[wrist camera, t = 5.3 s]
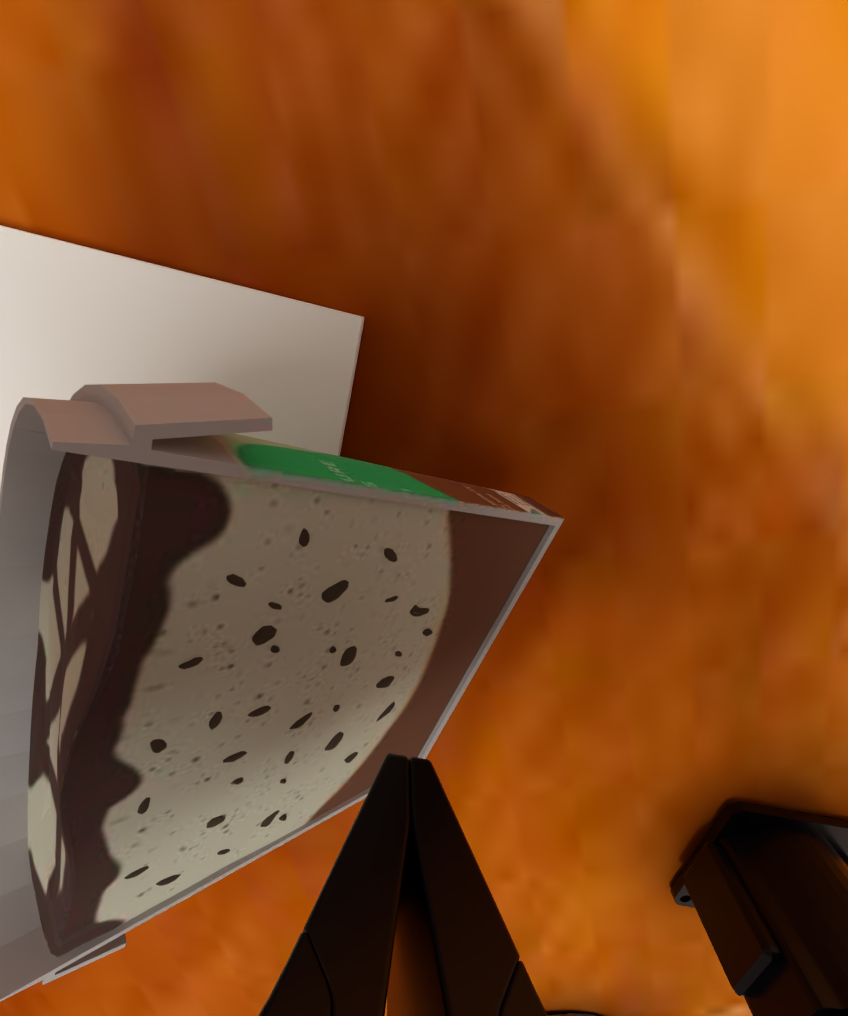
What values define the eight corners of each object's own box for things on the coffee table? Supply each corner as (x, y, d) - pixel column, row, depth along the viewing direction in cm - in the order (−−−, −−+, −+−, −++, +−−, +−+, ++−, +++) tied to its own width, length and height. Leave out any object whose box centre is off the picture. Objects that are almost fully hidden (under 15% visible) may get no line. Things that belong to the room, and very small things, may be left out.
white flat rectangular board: (364, 317, 14) (362, 317, 13) (293, 714, 19) (289, 727, 19) (-48, 212, 13) (-69, 208, 12) (-1, 663, 18) (-14, 674, 18)
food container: (435, 367, 15) (8, 242, 8) (596, 464, 11) (56, 386, 4) (318, 659, 20) (-16, 740, 13) (403, 796, 16) (-4, 1016, 9)
